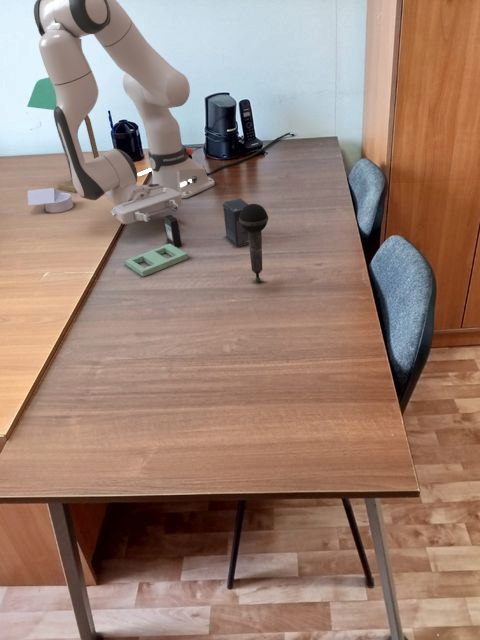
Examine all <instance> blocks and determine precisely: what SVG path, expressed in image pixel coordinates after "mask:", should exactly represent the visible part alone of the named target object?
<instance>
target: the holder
mask: <svg viewBox="0 0 480 640" xmlns="http://www.w3.org/2000/svg"><path fill="white" fill-rule="evenodd" d="M165 253H166V254H168V255H169V256H171V257H168V258H166V257H165V256H163V254H165ZM188 259H189V256H188V252H185V250H182V249H181V248H178V246H177V247H175V246H173V245H171V244H169V243H167V244H164V245H161V246H159V247H156V248H154V249H150V250H148V251H146V252H143V253H141V254H139V255H138V254H137V255H136V256H133V257H130V258H128V259H125V265H126V266H127V267H128V268H130V269H131V270H132V271H134V272H135V273H137V274H139V275H140V276H142V277H146V276H149V275H151V274H154V273H157V272H159V271H162V270H163V269H166V268H169V267H170V266H173V265H175V264H178V263H181V262H183V261H185V260H188ZM143 262H144V263H146V264H148V265H149V266H146V267H143V266H142V265H140V263H143Z"/></svg>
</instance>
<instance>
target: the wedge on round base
mask: <svg viewBox="0 0 480 640" xmlns="http://www.w3.org/2000/svg"><path fill="white" fill-rule="evenodd" d="M35 205H43V206H44V208H45V211H46V212H48V213H52V214H56V213H63V212H67V211H68V210H71V209H72V208H73V207H74V202H73V199H72V196H71V194H70V193H68V192H59V191H58V190H57V189H56V188H55V187H48V188H47V187H46V188H37V189H28V190H27V206H35Z"/></svg>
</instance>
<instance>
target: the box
mask: <svg viewBox="0 0 480 640" xmlns="http://www.w3.org/2000/svg"><path fill="white" fill-rule="evenodd" d="M247 205H249V204H248V202H246V201H244V200H243V199H242V198H237V199H236V198H235V199H232V200H228V201H224V202H222V207H223V218H224V227H225V236H226V238H227V239H228V240H229V241H230V242H231V243H232V244H234V245H235V246H236V247H237V248H238V247H242V246H246V245H249V240H248V232H247V231H246V230H245V229H243V227H242V226H241V224H240V222H239V216H240V213H241V211H242V209H243V208H244V207H245V206H247Z"/></svg>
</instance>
